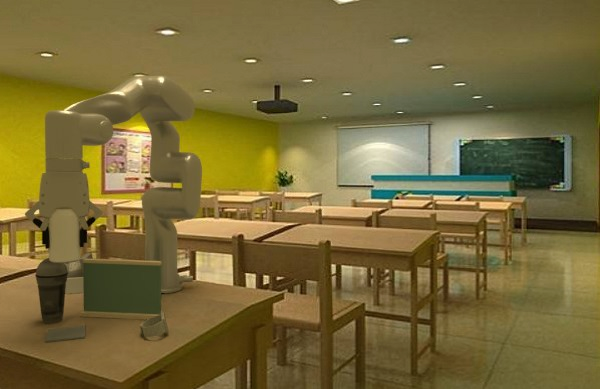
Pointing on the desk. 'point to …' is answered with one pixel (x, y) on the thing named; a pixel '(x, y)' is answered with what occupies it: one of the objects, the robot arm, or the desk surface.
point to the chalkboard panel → (121, 288)
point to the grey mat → (65, 333)
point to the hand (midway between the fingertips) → (65, 246)
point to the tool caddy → (74, 285)
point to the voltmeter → (77, 267)
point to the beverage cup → (51, 289)
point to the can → (64, 236)
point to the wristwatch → (154, 326)
